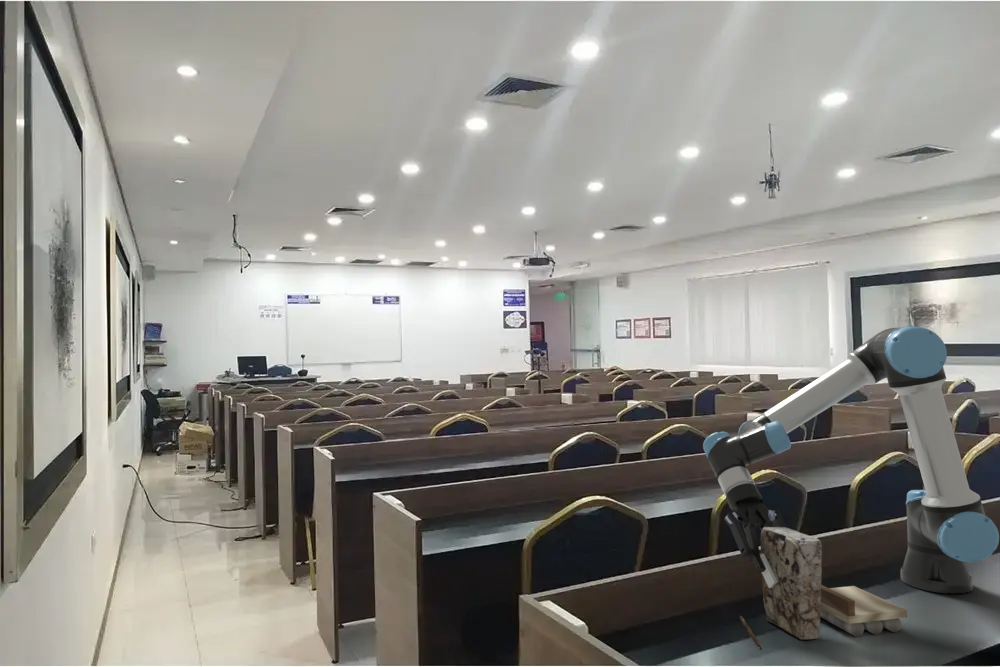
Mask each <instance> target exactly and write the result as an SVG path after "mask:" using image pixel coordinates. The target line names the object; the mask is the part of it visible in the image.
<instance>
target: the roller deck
mask: <svg viewBox="0 0 1000 667" xmlns="http://www.w3.org/2000/svg"><path fill="white" fill-rule="evenodd" d="M905 618H908V609H906V608H903V607H901V606H899V605H897V604H894V603H892V602H890V601H888V600H886V599H884V598H882V597H880V596H877V595H874V594H873V593H871V592H869V591H866V590H863V589H862V588H859V587H857V586H856V585H850V586H849V585H848V586H839V587H837V586H836V587H830V588H829V587H827V586H825V585H823V584H821V610H820V619H823V620H825V621H826V622H828V623H830V624H832V625H834V626H835V627H837V628H839V629H842V631H845V632H847V633H848V634H850V635H852V636H854V637H856V638H859V637H861V636H863V634H864V632H865V631H867V632H869V633H871V634H873V635H880V634H881V633H882V631H883V630H884V629H886V630H888V631H890V632H892V633H898V632H899V631H900V630H901V628H902V621H901V619H905Z"/></svg>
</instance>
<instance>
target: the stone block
mask: <svg viewBox="0 0 1000 667" xmlns="http://www.w3.org/2000/svg"><path fill="white" fill-rule="evenodd" d="M760 531H761V530H760ZM759 542H760V554H764V555H765V557H766V559H767V561H768V563H769V565H770V567H771V569H772V571H773V573H774V576H775V578H776V580H777V583H776V584H775V585H774V586H773V588H769V587H768V585H767V583H766V581H765V579H764V576H763V574H762V573H761V580H762V595H763V596H762V599H763V606H764V609H765V614H766V621H768V622H769V623H771V624H774V625H775V626H777V627H778V628H780V629H782V630H783V631H786V632H787V633H788V634H790V635H792V636H794V637H796V638H797V639H799V640H818V639H820V628H821V617H820V610H821V585H822V567H823V566H822V562H823V560H822V559H823V551H822V550H823V546H822V541H821V540H820V539H818V538H817V537H814V536H811V535H809V534H805V533H802V532H799V531H798V530H795V529H791V528H789V527H787V528H786V527H764V528H763V529H762V531H761V532H760V541H759Z"/></svg>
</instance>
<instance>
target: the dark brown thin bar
mask: <svg viewBox="0 0 1000 667" xmlns="http://www.w3.org/2000/svg"><path fill="white" fill-rule="evenodd" d="M739 620H740V621H741V623H742V626H744V628H745V627H746V628H745V629H747V630H746V631H747V633H748V632H749V633H748V634H750V635H751V636H750V635H749V636H750V637H751V640H752V641H753V642H755V643H754V644H755V646H756V645H757V646H758V647H760V648H761V645H760V642H759V640H758V639H757V637H756V636H755V634H754V633H753V631H752V629H751V628H750V626H749V625H748V622H746V620H745V619H744V617H743V616H742V615H739ZM757 646H756V647H757Z"/></svg>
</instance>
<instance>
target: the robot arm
mask: <svg viewBox="0 0 1000 667" xmlns="http://www.w3.org/2000/svg"><path fill="white" fill-rule="evenodd" d="M947 353H948V351H947V347H946V344H945V343H944V340H942V337H940V335H938V334H937V333H936V332H934V331H932V330H931V329H928V328H926V327H921V326H916V325H907V326H901V327H891V328H887V329H884V330H882V331H880V332H878V333H876V334H875V335H873V336H872V337H871V338H869V339H868V340H866V341H865V342H864V343H863V344H861V345H860V346H858V347H857V348H856V349H854V350H853V351H850V352H849V353H848V355H847V359H846V360H844V361H843V362H841V363H839V364H838V365H835V367H834V368H832V369H831V370H829V371H827V372H826V373H824V374H823V375H820V376H819V377H817V379H815V380H813V381H812V382H809V383H808V384H807V385H806V386H803V387H802V388H801V389H799V390H797V391H796V392H794V393H793V394H791V395H789V396H788V397H786V398H785V399H783V400H782V401H780V402H778V403H777V404H776V405H774V406H772V407H771V408H769V409H767V410H766V411H765V412H762V414H759V415H758V416H756V417H755V418H754V419H750V420H747V421H745V422H743V423H742V424H741V425H740V427H738V428H739V429H738V435H734V436H731V434H729V433H728V432H726V431H720V432H718V431H717V432H716V431H715V432H713V433H711V434H709V435H708V436H706V438H705V439H704V441H703V444H702V448H703V451H704V453H705V457H706V458H707V460H708V463H709V465H710V467H711V469H712V471H713V473H714V476H715V477H716V479H717V481H718V483H719V486H720V488H721V490H722V492H723V494H724V496H725V500H726V501H727V504H728V505H729V508H730V510H731V511H732V512H731V511H730V512H728V513H727V514H726V516H725V517H724V522H725V524H727V525H728V527H729V529H730V531H731V534H732V536H733V538H734V541H735V543H736V545H737V548H738V550H739V552H740V555H741V556H742V557H743V558H748V560H749V561H751V562H753V563H754V565H755V568H756V570H757V572H758V573H761V575H762V574H763V576H764V579H765V581H766V583H767V585H768V587H769V588H773V586H774V585H775V584H776V583H777V580H776V578H775V576H774V573H773V571H772V569H771V567H770V565H769V563H768V561H767V559H766V557H765V555H764V554H761V550H760V547H759V546H760V545H759V542H758V537H757V532H756V528H759V530H760V531H762V529H763V528H764V527H786V528H788V527H787V525H786V522H785V521H784V520H783V517H782V512H781V510H780V509H775V510H771V509H769V508H768V507H767V506H766V505H765V504H764V501H763V496H762V495H761V492H760V491H759V489H758V487H757V485H756V484H755V481H754V479H753V477H752V475H751V473H750V471H749V469H748V468H747V466H750V465H752V464H755V463H758V462H760V461H763V460H766V459H768V458H770V457H771V458H772V457H774V456H777V455H781V454H782V453H784V452H786V451H788V450H790V449H791V447H792V443H791V439H790V437H789V435H788V434H789V433H791V432H792V431H794V430H795V429H797V428H798V427H800V426H801V425H804V424H805V423H807V422H808V421H810V420H812V419H813V418H815V417H816V416H818V415H820V414H821V413H823V412H824V411H826V410H828V409H829V408H830V407H832V406H834V405H835V404H837V403H838V402H840V401H842V400H844V399H845V398H847V397H848V396H850V395H852V394H853V393H855V392H856V391H857V390H859V389H861V388H863V387H864V386H866V385H875V384H877V383H879V382H881V381H882V380H886V379H887V383H888V387H889V389H890V390H892V391H894V392H895V393H896V394H898V396H899V399H900V404H901V406H902V410H903V414H904V418H905V422H906V425H907V428H908V432H909V435H910V439H911V442H912V445H913V450H914V454H915V456H916V460H917V464H918V467H919V470H920V471H919V472H920V474H921V479H922V482H923V486H924V489H911V490H909V491H908V492H907V493H906V501H905V505H906V520H907V521H906V525H907V526H906V528H907V530H906V532H907V533H906V534H907V550H906V554H905V557H904V560H903V564H902V566H901V568H900V580H901V582H903V583H904V584H906V585H908V586H910V587H913V588H916V589H920V590H924V591H927V592H931V593H932V592H933V593H939V594H940V593H941V594H947V593H951V594H952V595H955V594H956V593H963V594H965V593H964V592H968V593H970V592H969V591H971V590H972V589H973V590H974V581H973V577H972V576H971V574H970V572H969V568H968V564H967V563H977V562H982V561H984V560H986V559H988V558H989V557H991V555H992V554H993V553H994V552H995V550H997V548H998V546H999V542H1000V533H999V530H998V528H997V526H996V524H995V523H994V521H993V520H992V519H991V518H989V517H988V516H987V515H986V512H985V509H984V505H983V502H982V500H981V496H980V494H978V492H977V493H976V492H975V491H973V490H972V489H970V486H969V483H968V479H967V474H966V470H965V468H964V464H963V461H962V457H961V454H960V450H959V446H958V443H957V439H956V437H955V432H954V429H953V425H952V422H951V419H950V418H951V417H950V415H949V412H948V408H947V405H946V400H945V397H944V393H943V390H942V386H943V385H944V384H945V382H946V380H947V376H946V373H945V369H944V366H945V363H946V362H947V357H948V354H947ZM740 523H742V526H741V524H740ZM742 527H743V528H742ZM973 590H972V591H973ZM972 591H971V592H972ZM953 593H955V594H953ZM951 594H950V595H951ZM956 595H957V594H956Z"/></svg>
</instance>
